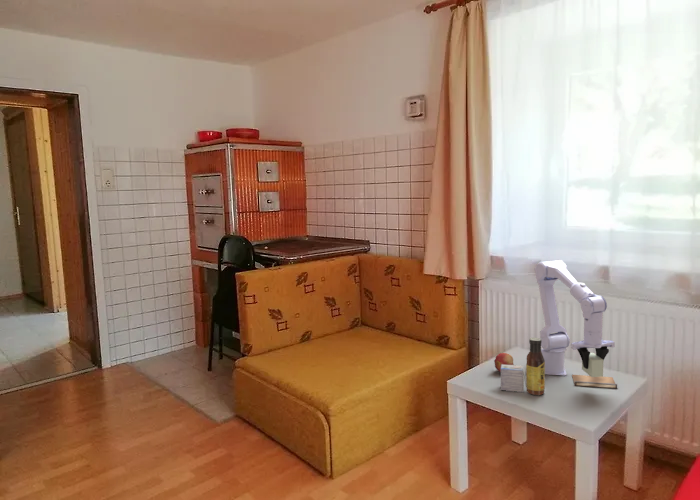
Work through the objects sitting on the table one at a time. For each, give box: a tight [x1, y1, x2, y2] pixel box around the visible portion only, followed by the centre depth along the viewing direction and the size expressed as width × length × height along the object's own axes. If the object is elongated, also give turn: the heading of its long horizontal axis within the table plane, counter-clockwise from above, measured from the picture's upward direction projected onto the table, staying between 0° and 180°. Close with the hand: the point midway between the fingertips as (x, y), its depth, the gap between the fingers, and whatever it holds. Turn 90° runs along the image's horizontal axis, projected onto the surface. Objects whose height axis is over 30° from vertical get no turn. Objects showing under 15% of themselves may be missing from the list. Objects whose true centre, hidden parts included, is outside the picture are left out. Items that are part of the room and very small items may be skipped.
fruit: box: [493, 352, 515, 373], centre depth 199 cm, size 8×8×8 cm
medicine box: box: [500, 364, 524, 393], centre depth 184 cm, size 8×4×9 cm, turn 71°
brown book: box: [571, 374, 618, 390], centre depth 187 cm, size 14×9×2 cm, turn 72°
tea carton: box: [581, 352, 604, 377], centre depth 177 cm, size 4×7×6 cm, turn 1°
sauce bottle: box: [525, 337, 546, 396], centre depth 180 cm, size 7×6×20 cm
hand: (592, 367), depth 178 cm, fingers closed on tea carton, 4 cm apart
